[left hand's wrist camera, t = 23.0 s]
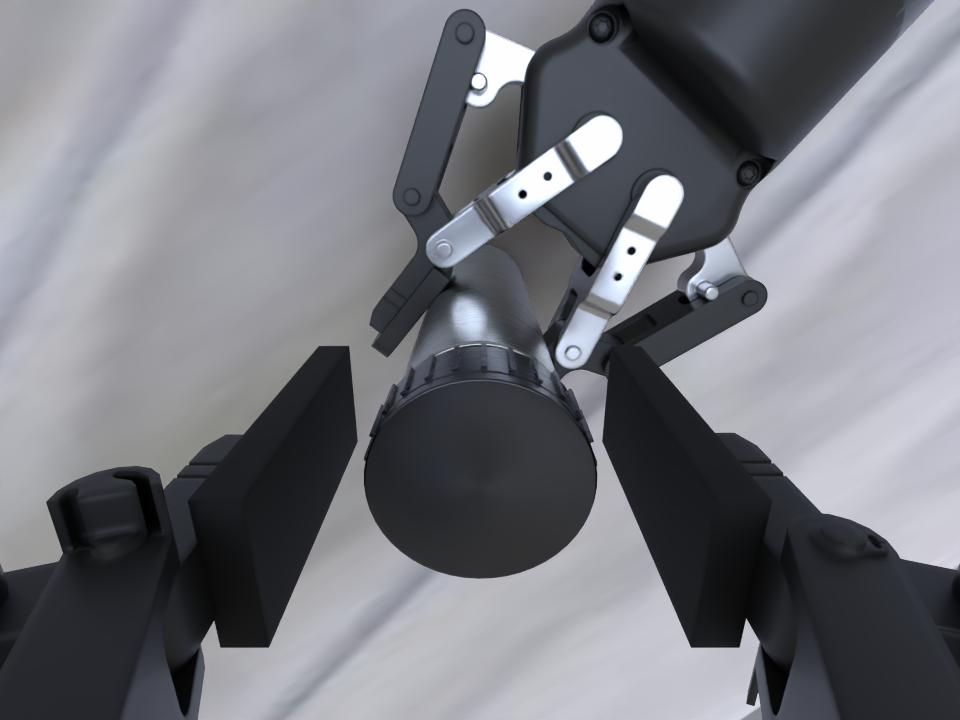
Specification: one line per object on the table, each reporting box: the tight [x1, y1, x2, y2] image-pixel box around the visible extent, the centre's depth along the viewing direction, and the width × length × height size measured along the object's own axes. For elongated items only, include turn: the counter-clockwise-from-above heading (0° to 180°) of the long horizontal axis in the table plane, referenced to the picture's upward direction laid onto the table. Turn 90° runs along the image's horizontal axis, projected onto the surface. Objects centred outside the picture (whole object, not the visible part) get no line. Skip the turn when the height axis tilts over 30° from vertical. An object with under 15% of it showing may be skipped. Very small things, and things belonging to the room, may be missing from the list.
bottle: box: [403, 244, 555, 378], centre depth 18 cm, size 4×4×16 cm
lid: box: [364, 343, 597, 579], centre depth 11 cm, size 4×4×2 cm
